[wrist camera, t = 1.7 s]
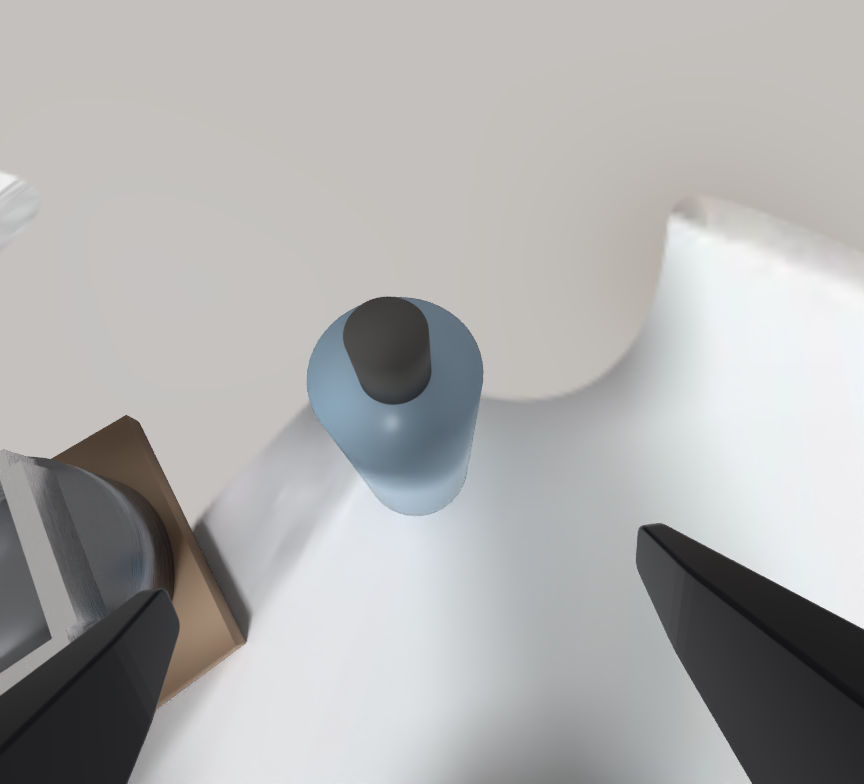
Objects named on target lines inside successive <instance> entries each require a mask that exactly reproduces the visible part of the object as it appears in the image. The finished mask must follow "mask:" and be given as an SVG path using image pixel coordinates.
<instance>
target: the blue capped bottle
mask: <svg viewBox="0 0 864 784" xmlns="http://www.w3.org/2000/svg"><path fill="white" fill-rule="evenodd" d="M482 383H483V364H482V359H481V354H480V351H479V348H478V346H477V343H476V341H475V339H474V338H473V336H472V334H471V333H470V332H469V330H468V329H467V327H466V326H465V325H464V324H463V323H462V322H461V321H460V320H459V319H458V318H457V317H455V316H454V315H453V314H451V313H450V312H449V311H447V310H445V309H443V308H441V307H440V306H437V305H435V304H433V303H430V302H427V301H423V300H420V299H414V298H404V297H380V298H375V299H372V300H369V301H367V302H365V303H363V304H362V305H360V306H358V307H356V308H354V309H352V310H350V311H349V312H347V313H345V314H344V315H342V316H341V317H339V318H338V319H337V320H336V321H335V322H334V323H333V324H332V325H330V327H329V328H328V329H327V330H326V331H325V332H324V334H323V335H322V336H321V338H320V339H319V341H318V342H317V344H316V346H315V348H314V350H313V353H312V355H311V358H310V361H309V366H308V371H307V390H308V395H309V400H310V403H311V405H312V408H313V411H314V412H315V414H316V416H317V418H318V420H319V421H320V422H321V424H322V425H323V426H324V428H325V429H326V430H327V432H328V433H329V434H330V436H331V437H332V438H333V440H334V441H335V442H336V444H337V445H338V446H339V448H340V449H341V450H342V452H343V453H344V454H345V456H346V457H347V458H348V460H349V461H350V462H351V464H352V465H353V466H354V468H355V469H356V470H357V472H358V473H359V474H360V476H361V477H362V478H363V480H364V481H365V482H366V484H367V485H368V486H369V488H370V489H371V490H372V492H373V493H374V494H375V496H376V497H377V498H378V499H379V500H380V501H381V502H382V503H383V504H384V505H385V506H387V507H388V508H389V509H391V510H393V511H395V512H398V513H400V514H404V515H411V516H422V515H427V514H431V513H434V512H436V511H438V510H441V509H442V508H444V507H445V506H447V505H448V504H449V503H450V502H452V501H453V499H454V498H455V497H456V496H457V495H458V493H459V492H460V490H461V488H462V486H463V484H464V481H465V478H466V474H467V468H468V463H469V457H470V451H471V446H472V440H473V434H474V429H475V423H476V417H477V412H478V406H479V400H480V395H481V389H482Z"/></svg>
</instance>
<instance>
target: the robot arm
mask: <svg viewBox="0 0 864 784" xmlns="http://www.w3.org/2000/svg"><path fill="white" fill-rule="evenodd" d="M636 565H637V569H638V572H639V574H640V576H641V579H642V581H643V583H644V585H645V587H646V590H647V592H648V594H649V596H650V598H651V600H652V603H653V605H654V607H655V609H656V611H657V614H658V616H659V618H660V620H661V622H662V624H663V627H664V629H665V631H666V633H667V635H668V638H669V640H670V642H671V644H672V646H673V648H674V650H675V652H676V653H677V655H678V657H679V659H680V661H681V663H682V664H683V666H684V668H685V669H686V671H687V673H688V675H689V676H690V678H691V680H692V681H693V683H694V685H695V687H696V688H697V690H698V692H699V693H700V695H701V697H702V699H703V700H704V702H705V704H706V705H707V707H708V709H709V711H710V712H711V714H712V716H713V717H714V719H715V721H716V723H717V724H718V726H719V728H720V729H721V731H722V733H723V735H724V736H725V738H726V740H727V741H728V743H729V745H730V747H731V748H732V750H733V752H734V753H735V755H736V757H737V759H738V760H739V762H740V764H741V765H742V767H743V769H744V770H745V772H746V774H747V776H748V777H749V779H750V781H751V782H752V784H864V629H862V628H860V627H858V626H857V625H855V624H853V623H851V622H849V621H847V620H845V619H843V618H841V617H839V616H838V615H836V614H834V613H832V612H830V611H828V610H826V609H824V608H822V607H820V606H819V605H817V604H815V603H813V602H811V601H809V600H807V599H805V598H803V597H801V596H800V595H798V594H796V593H794V592H792V591H790V590H788V589H786V588H784V587H782V586H781V585H779V584H777V583H775V582H773V581H771V580H769V579H767V578H765V577H764V576H762V575H760V574H758V573H756V572H754V571H752V570H750V569H748V568H746V567H745V566H743V565H741V564H739V563H737V562H735V561H733V560H731V559H729V558H727V557H726V556H724V555H722V554H720V553H718V552H716V551H714V550H712V549H710V548H708V547H707V546H705V545H703V544H701V543H699V542H697V541H695V540H693V539H691V538H689V537H688V536H686V535H684V534H682V533H680V532H678V531H676V530H674V529H672V528H670V527H669V526H667V525H664V524H662V523H656V524H648V525H643V526H641V527H640V528H639V530H638V537H637V550H636ZM179 631H180V621H179V618H178V615H177V613H176V610H175V608H174V606H173V603H172V601H171V599H170V596H169V594H168V592H167V591H166V590H165V589H162V588H157V589H149V590H143V591H140V592H138V593H137V594H135V595H134V596H133V597H131V598H130V599H129V600H127V601H126V602H125V603H123V604H122V605H121V606H119V607H118V608H116V609H115V610H114V611H112V612H111V613H110V614H108V615H107V616H106V617H104V618H103V619H102V620H100V621H99V622H98V623H96V624H95V625H94V626H92V627H91V628H90V629H88V630H87V631H86V632H84V633H83V634H82V635H80V636H79V637H78V638H76V639H75V640H74V641H72V642H71V643H70V644H68V645H67V646H66V647H64V648H63V649H62V650H60V651H59V652H58V653H56V654H55V655H54V656H52V657H51V658H50V659H48V660H47V661H46V662H44V663H43V664H42V665H40V666H39V667H38V668H36V669H35V670H34V671H32V672H31V673H30V674H28V675H27V676H26V677H24V678H23V679H22V680H20V681H19V682H17V683H16V684H15V685H13V686H12V687H11V688H9V689H8V690H7V691H5V692H4V693H3V694H1V695H0V784H127V783H128V780H129V778H130V775H131V773H132V771H133V768H134V766H135V763H136V761H137V758H138V756H139V753H140V751H141V748H142V746H143V743H144V741H145V738H146V736H147V733H148V731H149V728H150V725H151V723H152V720H153V717H154V714H155V711H156V708H157V705H158V702H159V698H160V695H161V692H162V688H163V685H164V682H165V678H166V675H167V672H168V669H169V665H170V662H171V659H172V655H173V652H174V649H175V645H176V642H177V639H178V636H179Z"/></svg>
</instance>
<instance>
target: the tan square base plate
mask: <svg viewBox="0 0 864 784" xmlns="http://www.w3.org/2000/svg"><path fill="white" fill-rule="evenodd" d="M157 588H162V589H165V590H166V591H167V592H168V594H169V596H170V599H171V601H172V603H173V606H174V608H175V610H176V613H177V615H178V618H179V621H180V631H179V636H178V639H177V642H176V645H175V649H174V652H173V655H172V659H171V662H170V665H169V669H168V672H167V675H166V678H165V682H164V685H163V688H162V692H161V695H160V698H159V702H158V705H157V708H156V709H158V708H159V707H160V706H162V705H163V704H164V703H166V702H167V701H168V700H170V699H171V698H172V697H174V696H175V695H176V694H178V693H179V692H181V691H182V690H183V689H185V688H186V687H187V686H189V685H190V684H191V683H193V682H194V681H195V680H197V679H198V678H199V677H201V676H202V675H204V674H205V673H206V672H208V671H209V670H210V669H212V668H213V667H214V666H216V665H217V664H218V663H220V662H221V661H222V660H224V659H225V658H226V657H228V656H229V655H231V654H232V653H233V652H235V651H236V650H237V649H239V648H240V647H241V646H243V645H244V644H245V643H246V642H245V640H244V638H243V636H242V634H241V631H240V629H239V627H238V625H237V623H236V621H235V619H234V617H233V615H232V613H231V611H230V609H229V607H228V605H227V603H226V600H225V598H224V596H223V594H222V592H221V590H220V588H219V586H218V584H217V582H216V580H215V578H214V576H213V574H212V571H211V569H210V567H209V565H208V563H207V561H206V559H205V557H204V555H203V553H202V551H201V549H200V547H199V545H198V543H197V540H196V538H195V536H194V534H193V532H192V530H191V528H190V526H189V524H188V522H187V520H186V518H185V516H184V514H183V512H182V509H181V507H180V505H179V503H178V501H177V499H176V497H175V495H174V493H173V491H172V489H171V487H170V485H169V483H168V480H167V479H166V476H165V474H164V472H163V470H162V468H161V466H160V464H159V462H158V460H157V458H156V456H155V454H154V452H153V449H152V448H151V445H150V444H149V441H148V439H147V437H146V435H145V433H144V431H143V429H142V427H141V425H140V423H139V422H138V421H136V420H135V419H133V418H131V417H129V416H127V415H125V416H124V417H122V418H120V419H119V420H117V421H116V422H113V423H112V424H110V425H108V426H107V427H105V428H103V429H102V430H100V431H98V432H96V433H95V434H93V435H91V436H89V437H88V438H86V439H84V440H83V441H81V442H79V443H78V444H76V445H74V446H72V447H71V448H69V449H67V450H66V451H64V452H62V453H60V454H59V455H57V456H55V457H54V458H52V459H47V458H38V457H26V456H23V455H19V454H16V453H13V452H10V451H6V450H4V449H3V450H1V451H0V695H1V694H3V693H4V692H5V691H7V690H8V689H9V688H11V687H12V686H13V685H15V684H16V683H17V682H19V681H20V680H22V679H23V678H24V677H26V676H27V675H28V674H30V673H31V672H32V671H34V670H35V669H36V668H38V667H39V666H40V665H42V664H43V663H44V662H46V661H47V660H48V659H50V658H51V657H52V656H54V655H55V654H56V653H58V652H59V651H60V650H62V649H63V648H64V647H66V646H67V645H68V644H70V643H71V642H72V641H74V640H75V639H76V638H78V637H79V636H80V635H82V634H83V633H84V632H86V631H87V630H88V629H90V628H91V627H92V626H94V625H95V624H96V623H98V622H99V621H100V620H102V619H103V618H104V617H106V616H107V615H108V614H110V613H111V612H112V611H114V610H115V609H116V608H118V607H119V606H121V605H122V604H123V603H125V602H126V601H127V600H129V599H130V598H131V597H133V596H134V595H135V594H137V593H138V592H140V591H143V590H149V589H157Z"/></svg>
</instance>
